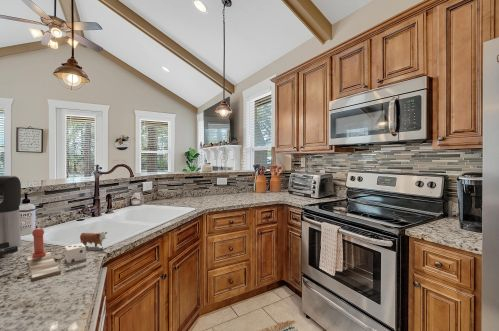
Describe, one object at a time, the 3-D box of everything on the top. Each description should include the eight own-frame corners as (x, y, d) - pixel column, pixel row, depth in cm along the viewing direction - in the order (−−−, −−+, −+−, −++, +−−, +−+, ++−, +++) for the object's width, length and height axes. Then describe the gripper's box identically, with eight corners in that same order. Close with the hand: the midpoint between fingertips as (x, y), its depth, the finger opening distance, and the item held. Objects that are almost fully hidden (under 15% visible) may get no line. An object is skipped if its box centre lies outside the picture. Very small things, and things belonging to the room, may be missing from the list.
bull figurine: (103, 251, 111) (103, 233, 111) (77, 249, 114) (77, 231, 113) (110, 248, 115) (110, 230, 115) (86, 246, 118) (85, 228, 118)
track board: (25, 259, 103) (25, 256, 103) (50, 254, 109) (50, 251, 108) (31, 281, 85) (31, 277, 85) (60, 273, 91) (60, 270, 91)
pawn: (32, 255, 104) (30, 228, 103) (45, 253, 107) (43, 226, 106) (32, 258, 101) (31, 230, 100) (46, 255, 104) (45, 228, 103)
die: (65, 261, 101) (64, 246, 101) (82, 256, 105) (82, 242, 105) (68, 265, 97) (67, 250, 97) (86, 261, 101) (85, 246, 101)
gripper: (-47, 255, 79) (20, 239, 93) (-58, 246, 86) (5, 233, 100) (-46, 278, 79) (21, 259, 93) (-57, 268, 87) (6, 252, 101)
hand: (13, 246), depth 97 cm, fingers open, 8 cm apart
